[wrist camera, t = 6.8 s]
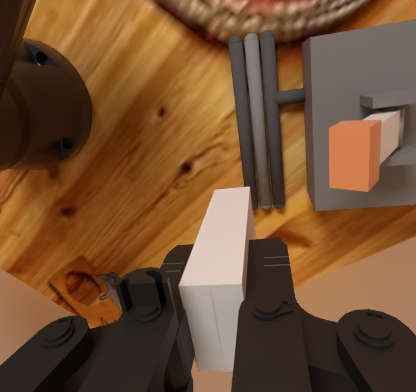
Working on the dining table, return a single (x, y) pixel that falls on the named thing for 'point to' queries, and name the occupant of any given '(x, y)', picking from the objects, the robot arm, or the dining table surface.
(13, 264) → the dining table surface
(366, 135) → the toggle lever
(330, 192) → the switch block
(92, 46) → the dining table surface
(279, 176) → the cable bundle
